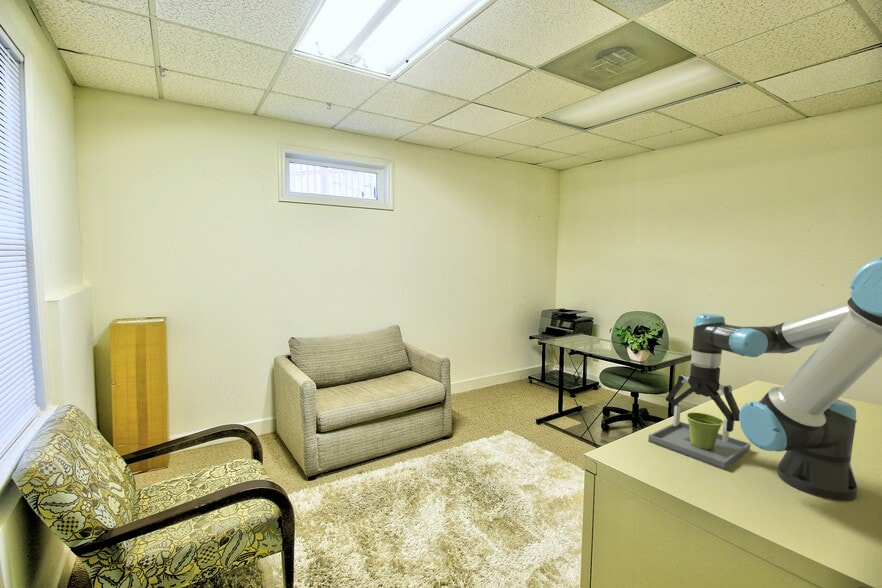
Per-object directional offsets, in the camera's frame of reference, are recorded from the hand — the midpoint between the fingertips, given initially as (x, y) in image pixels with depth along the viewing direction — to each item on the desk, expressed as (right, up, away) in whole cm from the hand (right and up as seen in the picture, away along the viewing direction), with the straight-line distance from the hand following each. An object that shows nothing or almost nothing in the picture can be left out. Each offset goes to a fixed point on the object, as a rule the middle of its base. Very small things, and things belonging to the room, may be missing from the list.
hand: (699, 432), depth 125 cm
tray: (0, -4, 0) cm, 4 cm away
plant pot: (0, -4, -1) cm, 4 cm away
